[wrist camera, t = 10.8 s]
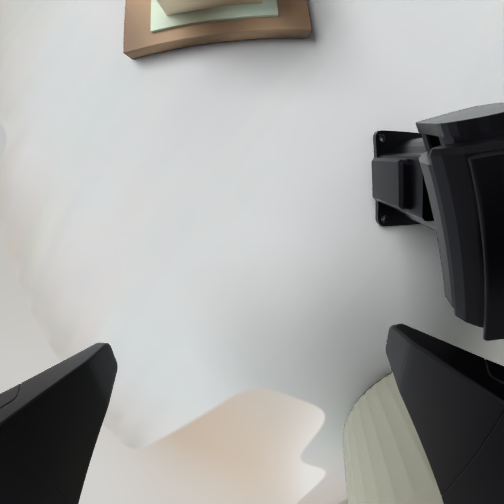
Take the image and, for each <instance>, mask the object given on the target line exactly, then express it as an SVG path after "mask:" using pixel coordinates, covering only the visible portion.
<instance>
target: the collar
mask: <svg viewBox="0 0 504 504" xmlns="http://www.w3.org/2000/svg"><path fill="white" fill-rule="evenodd" d="M157 2H158V3H159V5H160V6H161V8H162V9H163V11H164V12H165V14H166V15H167V16H168V15H173V14H178V13H183V12H188V11H194V10H200V9H207V8H214V7H221V6H230V5H241V4H255V3H262V0H157Z"/></svg>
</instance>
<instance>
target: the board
mask: <svg viewBox="0 0 504 504" xmlns="http://www.w3.org/2000/svg"><path fill="white" fill-rule="evenodd" d="M311 30H312V28H311V22H310V17H309V11H308V5H307V0H262V3H255V4H241V5H230V6H221V7H214V8H207V9H200V10H194V11H188V12H183V13H178V14H173V15H168V16H167V15H166V14H165V12H164V11H163V9H162V8H161V6H160V5H159V3H158V2H157V0H126V4H125V20H124V54H126V55H127V56H128V57H130V58H131V59H133V58H137V57H141V56H145V55H149V54H153V53H158V52H162V51H167V50H172V49H177V48H183V47H188V46H194V45H201V44H208V43H215V42H224V41H234V40H245V39H261V38H308V36H309V34H310V32H311Z"/></svg>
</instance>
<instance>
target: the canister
mask: <svg viewBox="0 0 504 504" xmlns="http://www.w3.org/2000/svg"><path fill="white" fill-rule="evenodd" d="M343 450H344V462H345V475H346V487H347V498H348V504H444V503H443V500H442V498H441V497H442V496H441V494H440V491H439V488H438V486H437V483H436V480H435V477H434V475H433V472H432V469H431V467H430V464H429V461H428V459H427V456H426V454H425V451H424V449H423V446H422V444H421V441H420V439H419V436H418V434H417V432H416V429H415V427H414V425H413V422H412V420H411V417H410V415H409V413H408V411H407V408H406V406H405V404H404V402H403V399H402V397H401V395H400V392H399V390H398V387H397V384H396V381H395V378H394V375H393V372H392V373H391V374H390V375H388V376H386V377H383V378H382V380H380V381H379V382H377V383H375V384H374V385H373V386H372V387H371V388H370V389H368V390H367V391H366V393H365V394H364V395H362V396H361V397H360V398H359V400H358V402H356V403H355V404H354V406H353V408H352V410H351V411H350V413H349V415H348V418H347V420H346V422H345V426H344V432H343Z"/></svg>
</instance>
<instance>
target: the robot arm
mask: <svg viewBox="0 0 504 504" xmlns="http://www.w3.org/2000/svg"><path fill="white" fill-rule="evenodd" d="M416 126H417V128H418V131H419V133H411V132H398V131H377V132H375V133H374V136H373V142H374V159H373V160H372V184H373V198H374V199H375V200H376V221H377V223H378V224H380V225H381V226H395V225H412V224H423V225H425V226H428V227H430V228H432V229H434V230H436V233H437V239H438V245H439V251H440V257H441V264H442V272H443V280H444V290H445V297H446V298H447V300H448V301H449V303H450V304H451V306H452V307H453V308H454V312H455V315H456V316H457V317H459V318H460V319H462V320H463V321H465V322H467V323H470V324H473V325H476V326H479V327H483V328H484V332H483V339H484V340H486V341H489V340H498V339H504V103H494V104H487V105H481V106H475V107H470V108H466V109H463V110H459V111H455V112H451V113H448V114H444V115H440V116H437V117H433V118H430V119H426V120H423V121H420V122H416ZM379 135H382V136H383V141H380V140H379ZM384 215H385V220H384V221H381V217H382V216H384ZM386 353H387V357H388V360H389V362H390V365H391V369H392V372H393V375H394V378H395V381H396V384H397V387H398V390H399V392H400V395H401V397H402V399H403V402H404V404H405V406H406V408H407V411H408V413H409V415H410V417H411V420H412V422H413V425H414V427H415V429H416V432H417V434H418V436H419V439H420V441H421V444H422V446H423V449H424V451H425V454H426V456H427V459H428V461H429V464H430V467H431V469H432V472H433V475H434V477H435V480H436V483H437V486H438V488H439V491H440V494H441V496H442V497H441V498H442V500H443V503H444V504H504V366H502V365H499V364H496V363H494V362H492V361H489V360H487V359H486V360H485V359H484V358H482V357H480V356H477V355H475V354H472V353H470V352H468V351H465V350H463V349H461V348H458V347H456V346H453V345H451V344H449V343H446V342H444V341H442V340H439V339H437V338H435V337H432V336H430V335H428V334H425V333H423V332H421V331H418V330H416V329H413V328H411V327H409V326H406V325H404V324H397V325H392V326H391V327H390V329H389V333H388V339H387V345H386ZM116 373H117V362H116V359H115V356H114V354H113V351H112V348H111V346H110V345H109V344H108V343H96V344H94V345H93V346H91V347H89V348H87V349H85V350H83V351H81V352H79V353H78V354H76V355H74V356H72V357H70V358H68V359H66V360H64V361H62V362H61V363H59V364H57V365H55V366H53V367H51V368H49V369H47V370H45V371H44V372H42V373H40V374H38V375H36V376H34V377H32V378H30V379H28V380H26V381H25V382H23V383H22V384H19V385H17V386H15V387H13V388H11V389H9V390H7V391H5V392H3V393H1V394H0V504H78V503H79V499H80V495H81V491H82V488H83V484H84V481H85V477H86V473H87V470H88V466H89V463H90V460H91V457H92V454H93V450H94V447H95V444H96V441H97V438H98V435H99V432H100V428H101V426H102V423H103V420H104V417H105V414H106V411H107V408H108V405H109V401H110V397H111V393H112V389H113V385H114V381H115V377H116Z"/></svg>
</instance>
